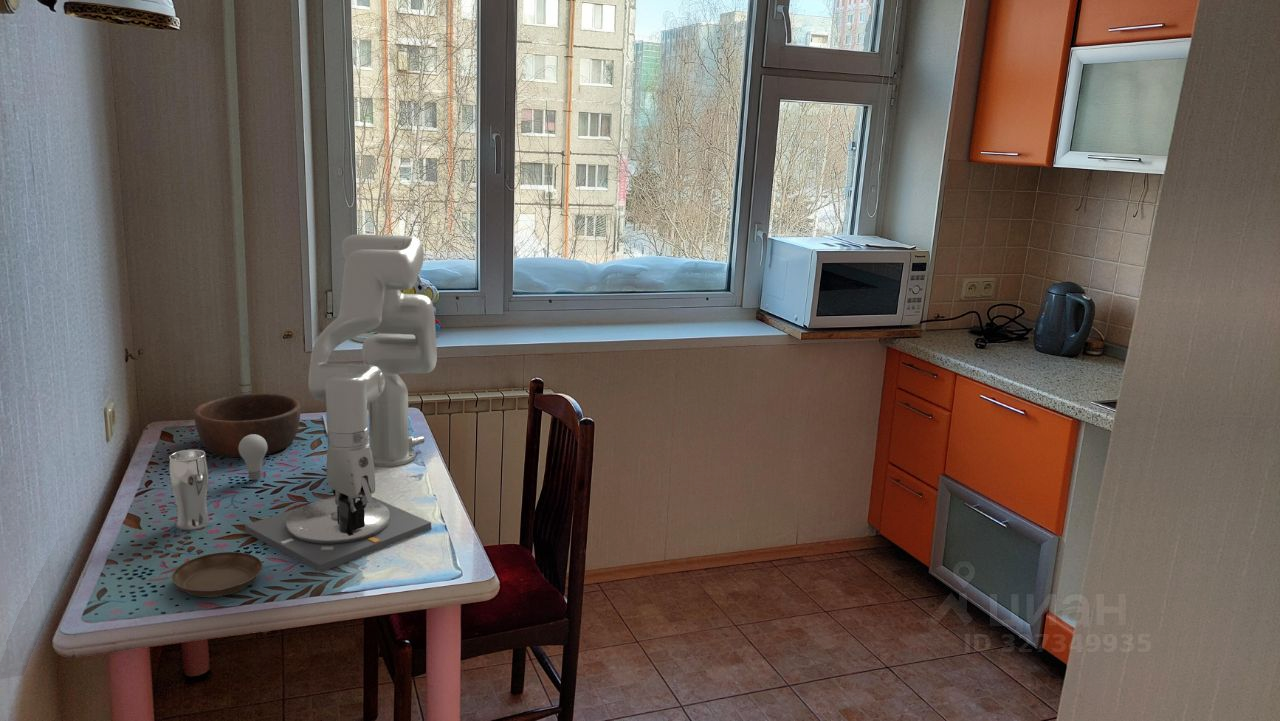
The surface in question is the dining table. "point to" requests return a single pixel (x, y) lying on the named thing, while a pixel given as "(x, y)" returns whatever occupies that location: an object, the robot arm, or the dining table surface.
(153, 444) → the dining table surface
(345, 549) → the dial plate
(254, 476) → the lightbulb
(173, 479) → the beer glass
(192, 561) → the saucer
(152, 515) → the dining table surface
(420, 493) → the dining table surface
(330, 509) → the dial
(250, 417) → the wooden bowl
